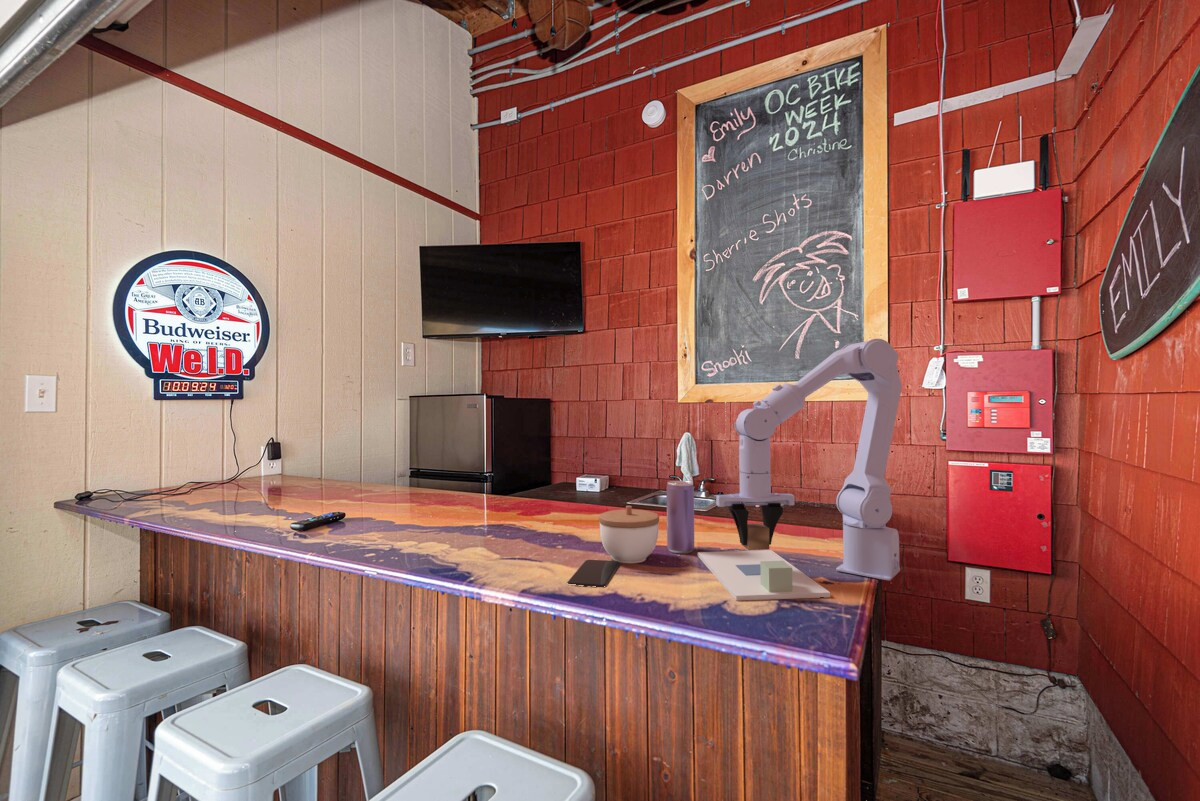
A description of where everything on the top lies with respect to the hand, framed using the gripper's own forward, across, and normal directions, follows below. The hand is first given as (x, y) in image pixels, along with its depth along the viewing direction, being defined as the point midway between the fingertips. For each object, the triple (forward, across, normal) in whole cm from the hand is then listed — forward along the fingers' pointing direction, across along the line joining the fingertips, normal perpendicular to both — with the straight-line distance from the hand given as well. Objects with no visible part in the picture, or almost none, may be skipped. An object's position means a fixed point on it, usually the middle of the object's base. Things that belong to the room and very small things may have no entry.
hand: (755, 543), depth 104 cm
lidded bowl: (+6, +23, -13) cm, 27 cm away
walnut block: (+1, 0, 0) cm, 1 cm away
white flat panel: (+6, 0, 0) cm, 6 cm away
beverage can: (+6, +11, -18) cm, 21 cm away
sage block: (+5, 0, +10) cm, 11 cm away
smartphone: (+6, +30, -4) cm, 31 cm away
